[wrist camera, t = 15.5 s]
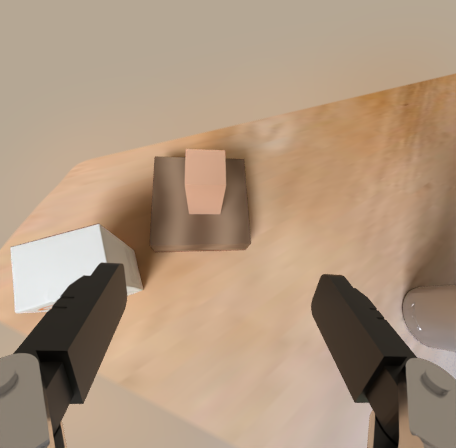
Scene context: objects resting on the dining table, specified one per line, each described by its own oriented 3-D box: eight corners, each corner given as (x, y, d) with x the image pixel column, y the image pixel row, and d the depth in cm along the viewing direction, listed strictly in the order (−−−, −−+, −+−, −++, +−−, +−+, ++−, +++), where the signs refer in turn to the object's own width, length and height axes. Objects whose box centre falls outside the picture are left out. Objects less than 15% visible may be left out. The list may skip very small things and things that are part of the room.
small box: (134, 249, 35) (100, 221, 23) (144, 290, 33) (113, 283, 21) (77, 266, 33) (7, 246, 21) (84, 310, 32) (13, 316, 19)
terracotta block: (219, 186, 35) (225, 150, 27) (220, 214, 34) (226, 185, 25) (189, 186, 35) (185, 148, 26) (189, 214, 33) (184, 184, 25)
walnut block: (238, 175, 42) (243, 159, 37) (244, 250, 38) (250, 243, 33) (159, 173, 40) (154, 156, 35) (155, 252, 36) (149, 245, 31)
